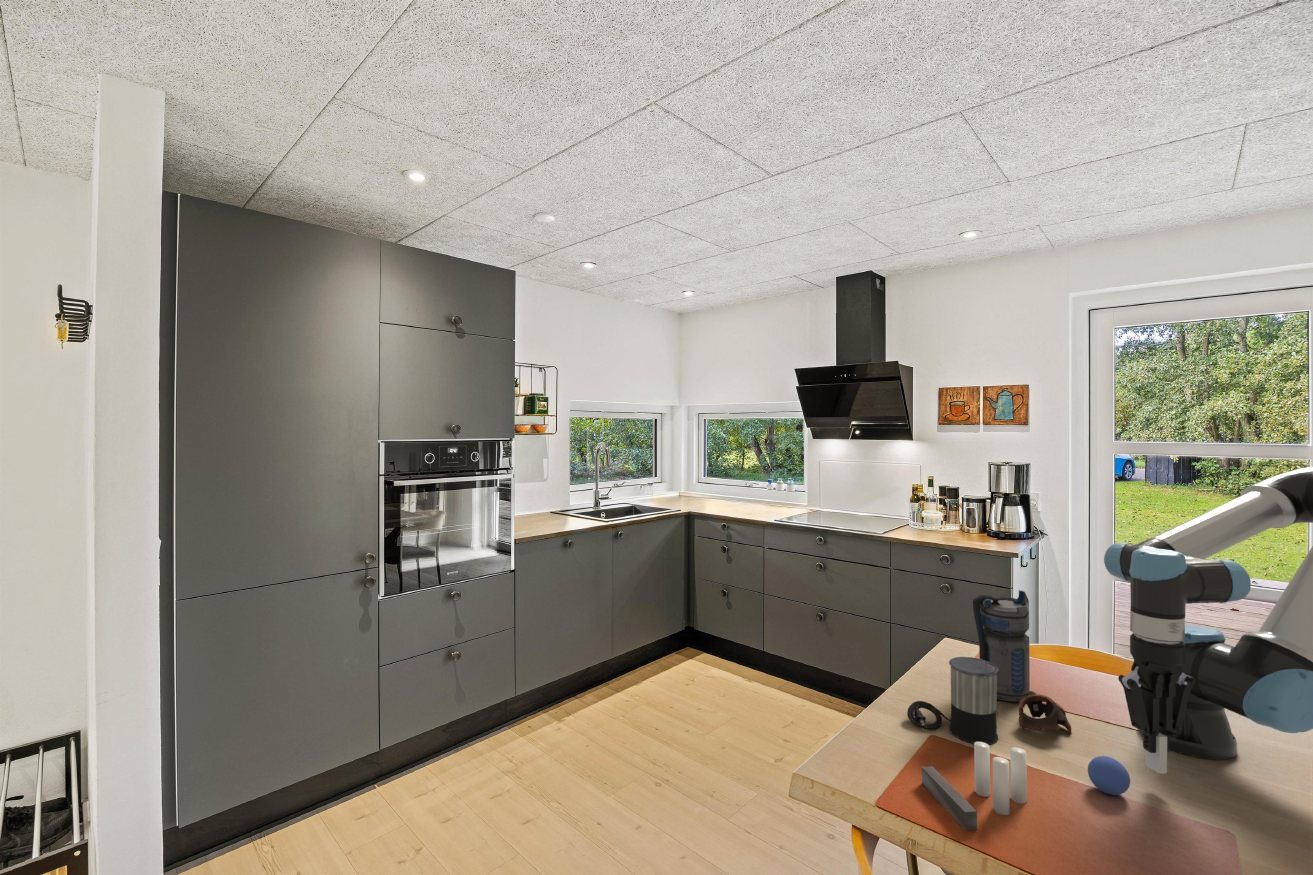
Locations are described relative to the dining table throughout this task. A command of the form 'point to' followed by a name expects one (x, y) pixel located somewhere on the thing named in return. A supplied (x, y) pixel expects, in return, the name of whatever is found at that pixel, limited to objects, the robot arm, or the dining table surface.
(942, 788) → the back wall
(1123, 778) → the ball
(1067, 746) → the dining table surface
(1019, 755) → the front pin
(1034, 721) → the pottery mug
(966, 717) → the milk frother
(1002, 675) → the beverage bottle
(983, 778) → the pin
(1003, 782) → the pin
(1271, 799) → the dining table surface
